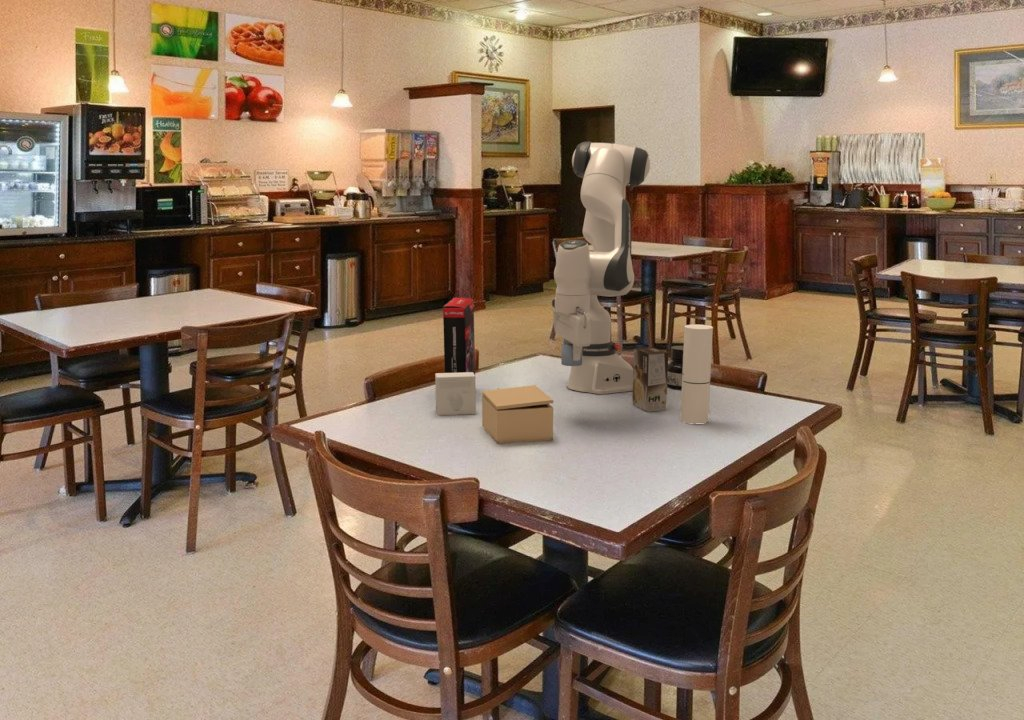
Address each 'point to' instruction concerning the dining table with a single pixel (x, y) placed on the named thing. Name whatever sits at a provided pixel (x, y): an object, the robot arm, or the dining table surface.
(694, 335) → the cylindrical container
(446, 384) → the skincare box
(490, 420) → the carton
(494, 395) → the lid flap
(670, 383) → the ink bottle
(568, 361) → the tape roll
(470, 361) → the graphics card box
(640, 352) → the coffee box
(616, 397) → the dining table surface
